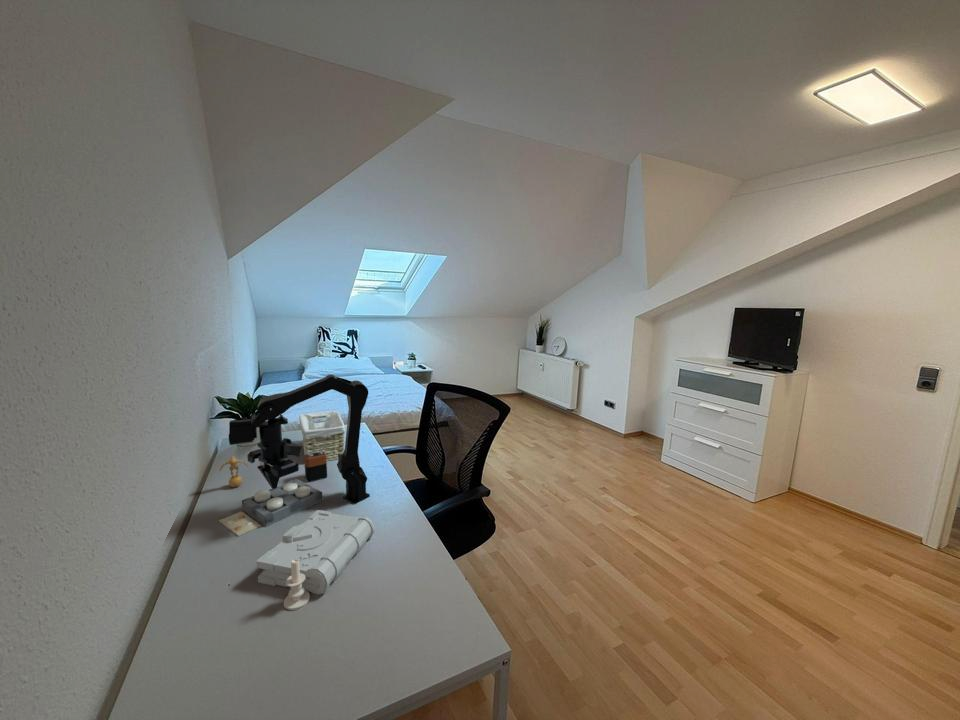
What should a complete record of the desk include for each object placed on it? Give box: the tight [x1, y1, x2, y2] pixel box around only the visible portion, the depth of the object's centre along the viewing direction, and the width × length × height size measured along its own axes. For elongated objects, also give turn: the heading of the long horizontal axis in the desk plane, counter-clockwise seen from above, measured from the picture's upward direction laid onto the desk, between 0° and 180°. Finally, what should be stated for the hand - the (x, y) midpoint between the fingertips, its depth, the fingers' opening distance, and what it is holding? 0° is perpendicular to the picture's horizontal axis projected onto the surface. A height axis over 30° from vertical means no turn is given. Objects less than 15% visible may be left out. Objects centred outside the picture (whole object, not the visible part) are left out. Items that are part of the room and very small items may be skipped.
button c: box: [267, 497, 283, 511], centre depth 116 cm, size 4×4×2 cm
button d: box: [253, 489, 271, 503], centre depth 121 cm, size 4×4×2 cm
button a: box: [295, 486, 310, 499], centre depth 124 cm, size 4×4×2 cm
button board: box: [241, 478, 324, 527], centre depth 123 cm, size 15×18×3 cm
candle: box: [283, 559, 311, 611], centre depth 84 cm, size 5×5×10 cm
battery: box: [303, 450, 328, 483], centre depth 141 cm, size 4×7×10 cm, turn 127°
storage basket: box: [299, 410, 346, 462], centre depth 163 cm, size 24×16×15 cm
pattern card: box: [219, 511, 261, 537], centre depth 112 cm, size 12×6×1 cm, turn 56°
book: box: [255, 509, 375, 596], centre depth 101 cm, size 19×28×8 cm
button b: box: [283, 483, 298, 492], centre depth 128 cm, size 4×4×2 cm
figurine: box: [219, 455, 249, 488], centre depth 132 cm, size 8×6×12 cm
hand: (274, 488), depth 116 cm, fingers closed
